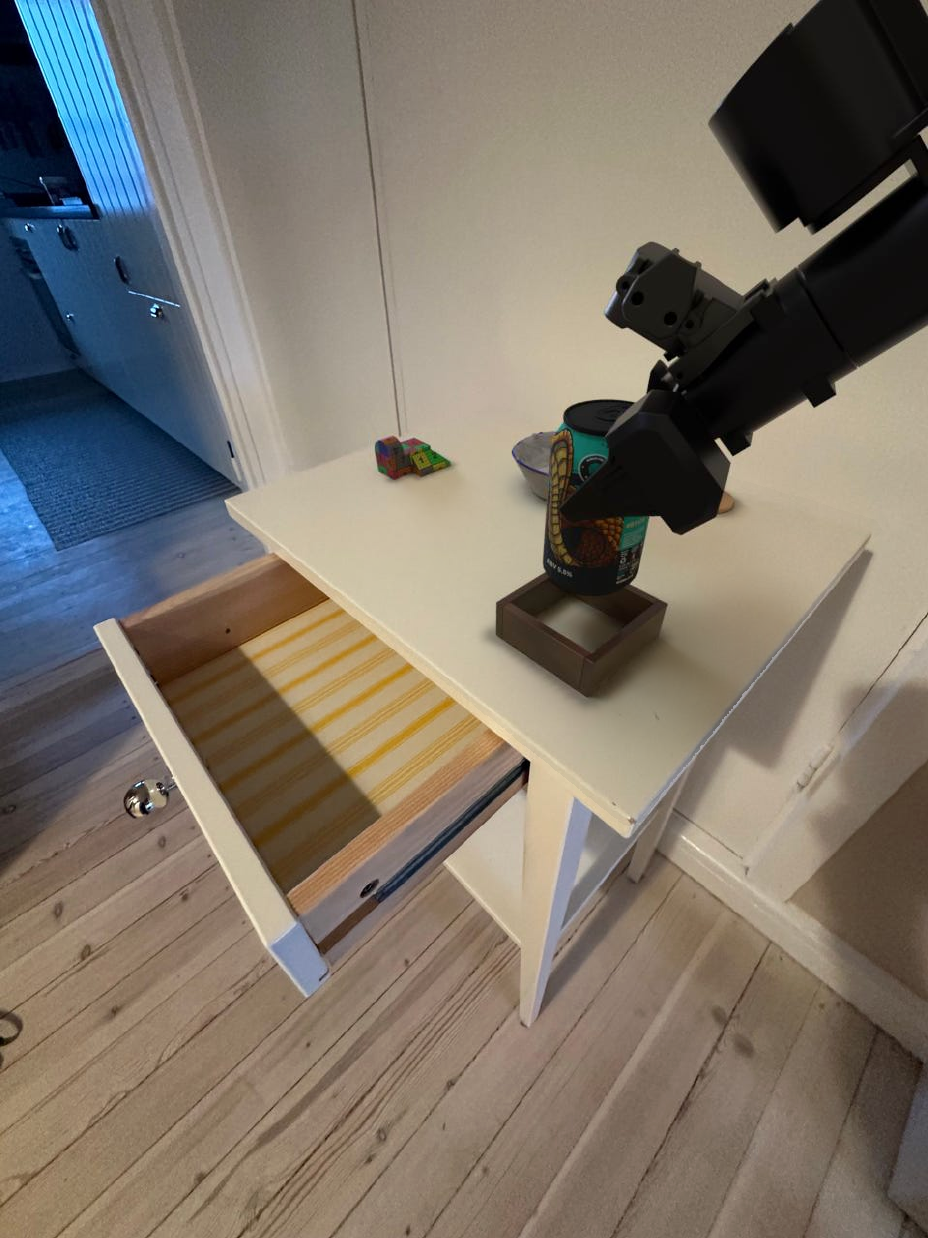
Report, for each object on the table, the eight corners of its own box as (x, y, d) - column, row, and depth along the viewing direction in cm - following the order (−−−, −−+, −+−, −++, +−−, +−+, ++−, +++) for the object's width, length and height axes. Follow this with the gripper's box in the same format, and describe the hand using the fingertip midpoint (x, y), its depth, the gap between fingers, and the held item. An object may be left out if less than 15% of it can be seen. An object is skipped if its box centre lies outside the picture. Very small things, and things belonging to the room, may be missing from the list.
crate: (659, 636, 44) (668, 603, 41) (587, 697, 39) (593, 664, 37) (568, 586, 49) (572, 555, 47) (495, 634, 44) (495, 602, 42)
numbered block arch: (401, 483, 66) (397, 449, 63) (377, 470, 69) (372, 436, 66) (450, 464, 70) (449, 431, 67) (426, 453, 73) (423, 420, 70)
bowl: (489, 492, 64) (490, 454, 61) (547, 457, 71) (549, 421, 68) (584, 525, 57) (590, 484, 54) (636, 482, 65) (644, 443, 62)
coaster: (739, 497, 61) (740, 493, 61) (722, 518, 57) (724, 514, 57) (687, 484, 64) (688, 480, 64) (669, 504, 60) (670, 500, 60)
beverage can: (523, 567, 41) (530, 411, 33) (589, 538, 44) (609, 388, 36) (587, 614, 36) (611, 445, 29) (656, 578, 39) (695, 416, 32)
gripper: (748, 165, 30) (550, 359, 41) (708, 172, 17) (438, 449, 28) (848, 328, 32) (635, 470, 43) (877, 438, 20) (566, 599, 31)
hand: (579, 490), depth 36 cm, fingers closed on beverage can, 7 cm apart
